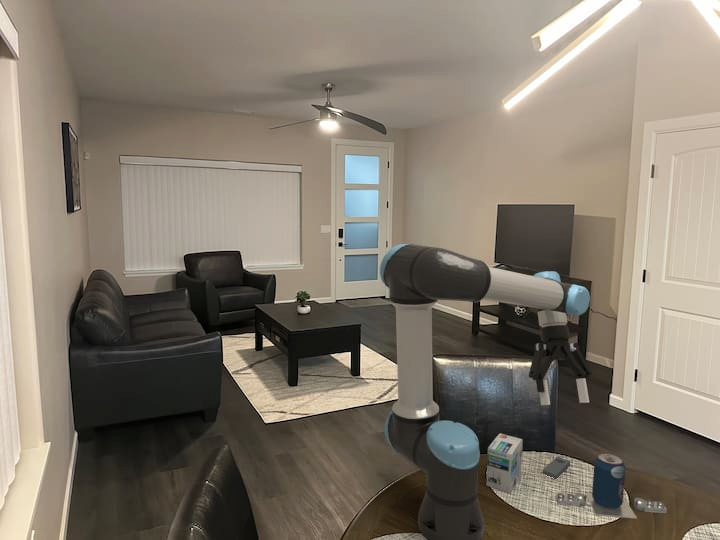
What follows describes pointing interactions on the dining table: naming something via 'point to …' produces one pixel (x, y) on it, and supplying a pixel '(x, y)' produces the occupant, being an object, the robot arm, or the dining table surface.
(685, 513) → the dining table surface
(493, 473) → the light bulb box
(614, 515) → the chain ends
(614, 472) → the soda can
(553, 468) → the bracket
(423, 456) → the robot arm
